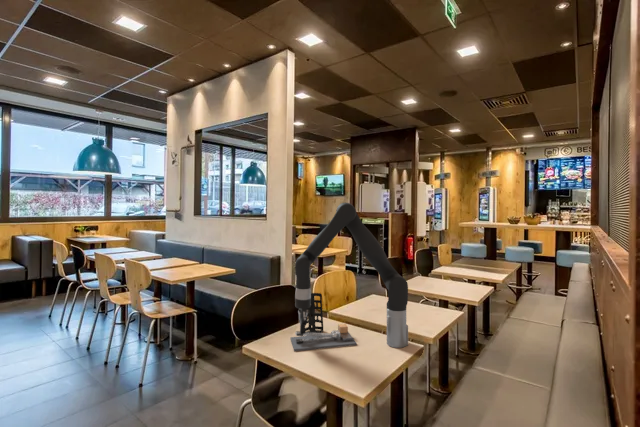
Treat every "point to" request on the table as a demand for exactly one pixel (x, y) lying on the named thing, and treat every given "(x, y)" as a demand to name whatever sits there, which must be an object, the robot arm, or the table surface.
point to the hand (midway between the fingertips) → (302, 332)
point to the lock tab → (342, 328)
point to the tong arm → (313, 334)
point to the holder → (315, 314)
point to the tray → (318, 343)
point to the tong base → (328, 338)
